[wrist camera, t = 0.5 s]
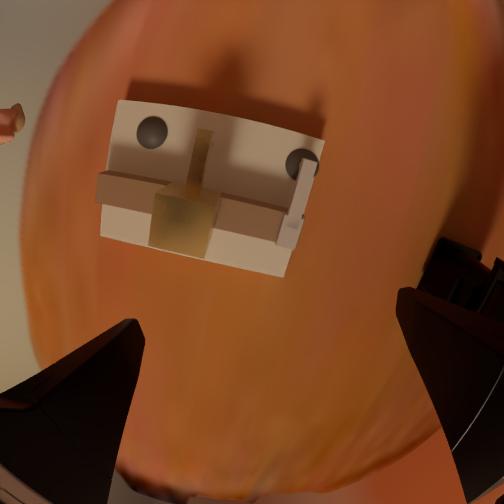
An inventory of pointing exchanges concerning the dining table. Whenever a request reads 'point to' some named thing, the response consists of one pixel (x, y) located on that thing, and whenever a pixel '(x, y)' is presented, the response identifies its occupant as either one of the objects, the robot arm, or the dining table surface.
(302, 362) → the dining table surface
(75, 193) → the dining table surface
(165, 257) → the dining table surface
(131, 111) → the gauge board
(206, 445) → the dining table surface
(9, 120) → the grandmother figurine
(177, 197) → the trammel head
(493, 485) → the robot arm
